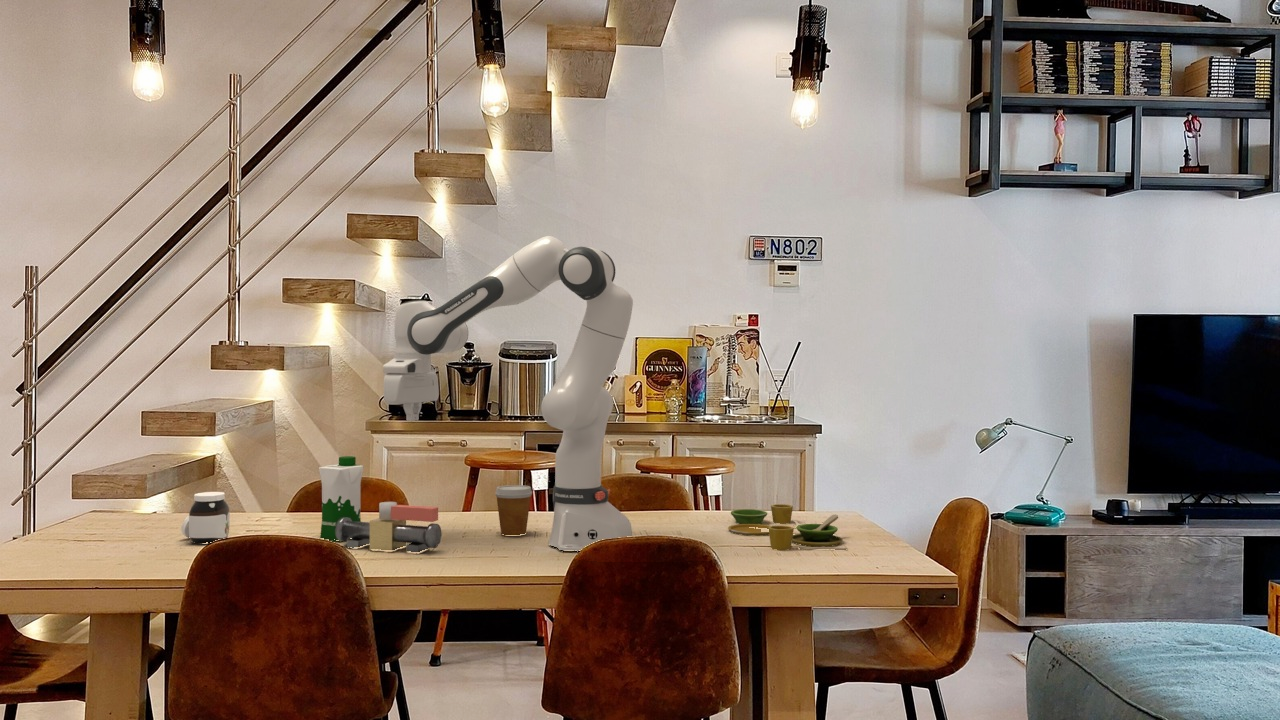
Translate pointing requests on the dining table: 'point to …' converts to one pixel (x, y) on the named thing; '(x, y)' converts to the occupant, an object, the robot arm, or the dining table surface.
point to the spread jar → (207, 518)
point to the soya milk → (340, 494)
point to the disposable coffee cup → (513, 508)
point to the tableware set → (786, 529)
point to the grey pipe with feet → (388, 534)
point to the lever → (407, 512)
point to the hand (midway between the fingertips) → (412, 421)
